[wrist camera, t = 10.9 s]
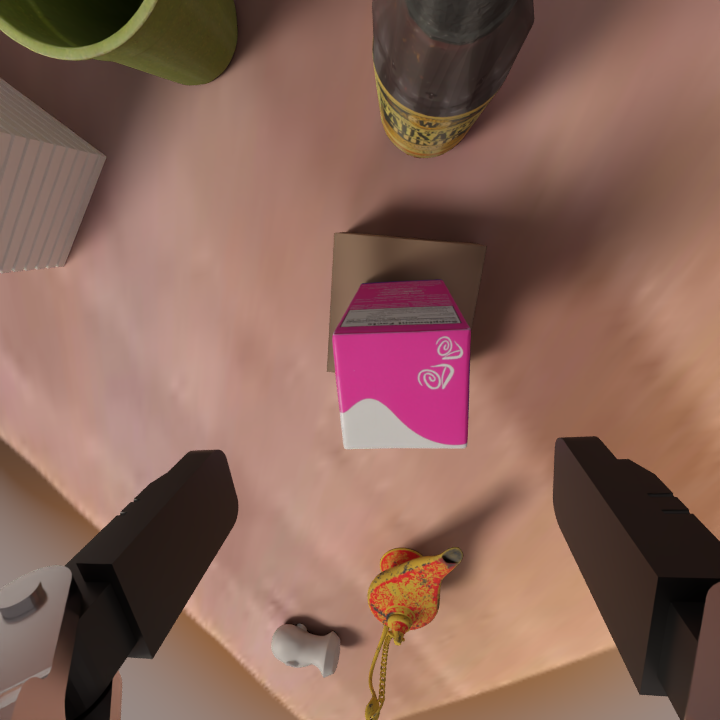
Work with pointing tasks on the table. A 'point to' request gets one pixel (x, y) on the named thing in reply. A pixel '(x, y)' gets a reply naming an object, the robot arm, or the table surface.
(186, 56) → the plant pot
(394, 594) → the magic lamp
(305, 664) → the smooth white sculpture
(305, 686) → the table surface
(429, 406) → the supplement box
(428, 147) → the sauce bottle
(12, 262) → the white textured block
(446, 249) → the block
